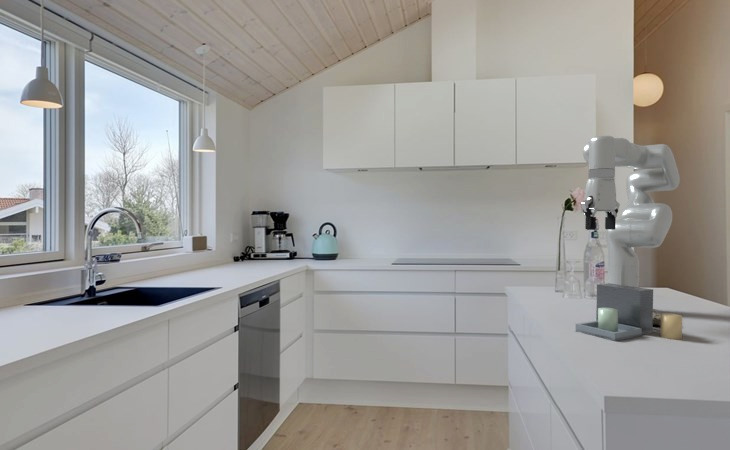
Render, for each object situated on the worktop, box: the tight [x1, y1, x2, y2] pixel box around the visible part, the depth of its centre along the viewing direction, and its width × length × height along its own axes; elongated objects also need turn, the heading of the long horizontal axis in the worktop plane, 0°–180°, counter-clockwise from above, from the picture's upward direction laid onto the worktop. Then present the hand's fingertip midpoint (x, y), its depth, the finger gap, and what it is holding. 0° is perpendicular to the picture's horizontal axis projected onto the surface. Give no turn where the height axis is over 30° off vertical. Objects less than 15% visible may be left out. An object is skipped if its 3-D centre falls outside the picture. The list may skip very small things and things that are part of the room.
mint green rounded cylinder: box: [598, 308, 618, 332], centre depth 126 cm, size 5×5×6 cm
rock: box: [653, 308, 662, 327], centre depth 138 cm, size 11×11×4 cm
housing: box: [595, 282, 657, 335], centre depth 133 cm, size 8×14×12 cm, turn 28°
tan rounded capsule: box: [659, 312, 683, 341], centre depth 123 cm, size 5×5×6 cm
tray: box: [575, 320, 642, 342], centre depth 126 cm, size 12×12×2 cm
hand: (600, 229), depth 146 cm, fingers open, 9 cm apart
